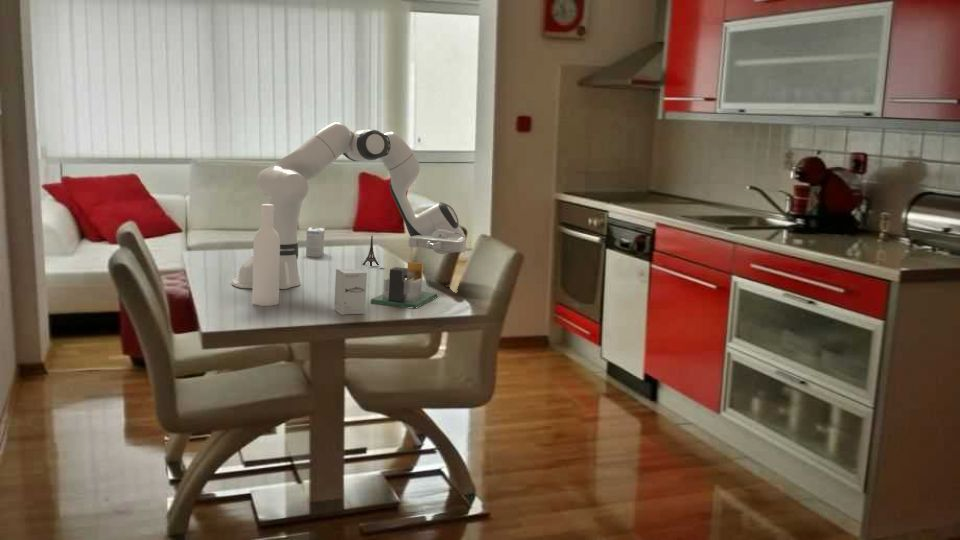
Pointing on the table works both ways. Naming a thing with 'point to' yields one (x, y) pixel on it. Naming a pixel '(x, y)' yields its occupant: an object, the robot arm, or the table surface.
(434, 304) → the table surface
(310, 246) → the light bulb box
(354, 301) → the supplement box
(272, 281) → the bottle
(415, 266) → the yellow rectangular block
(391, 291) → the heatsink board
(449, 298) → the table surface
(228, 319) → the table surface
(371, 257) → the eiffel tower figurine
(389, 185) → the robot arm
